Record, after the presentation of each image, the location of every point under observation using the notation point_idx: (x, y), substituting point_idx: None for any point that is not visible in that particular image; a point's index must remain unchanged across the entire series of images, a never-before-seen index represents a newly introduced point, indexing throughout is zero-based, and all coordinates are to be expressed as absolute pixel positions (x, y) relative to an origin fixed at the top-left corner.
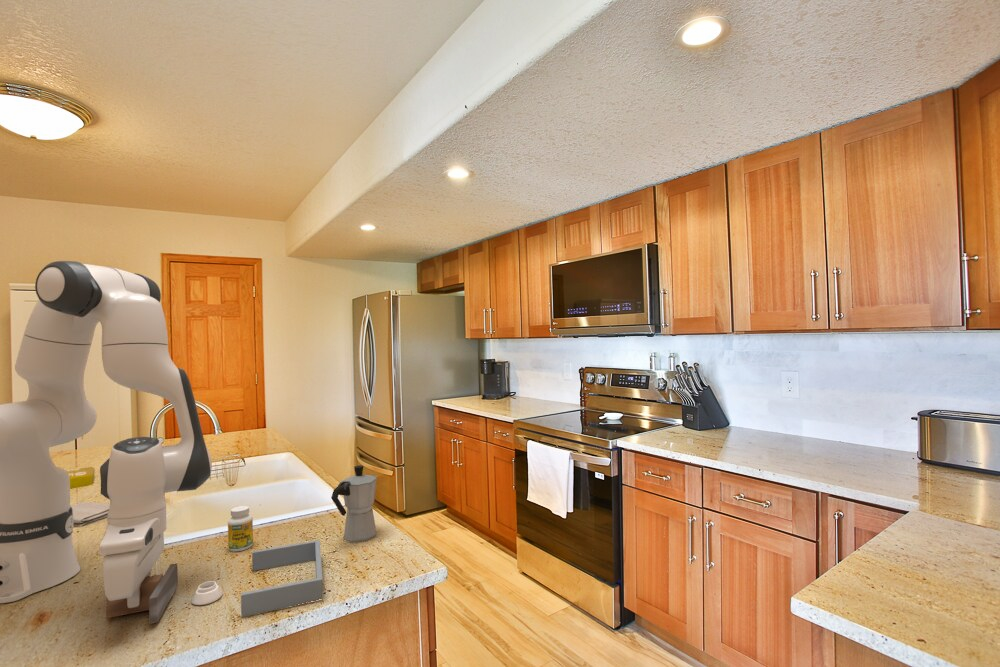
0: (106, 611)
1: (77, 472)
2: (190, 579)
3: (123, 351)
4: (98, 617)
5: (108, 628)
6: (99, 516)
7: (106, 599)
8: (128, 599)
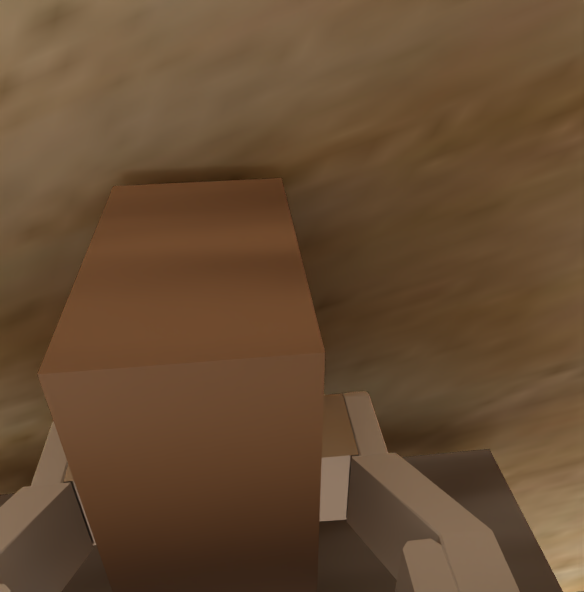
0: (101, 219)
1: None
2: (572, 476)
3: None
4: (255, 52)
5: (7, 228)
6: None
7: (69, 297)
8: (36, 483)
